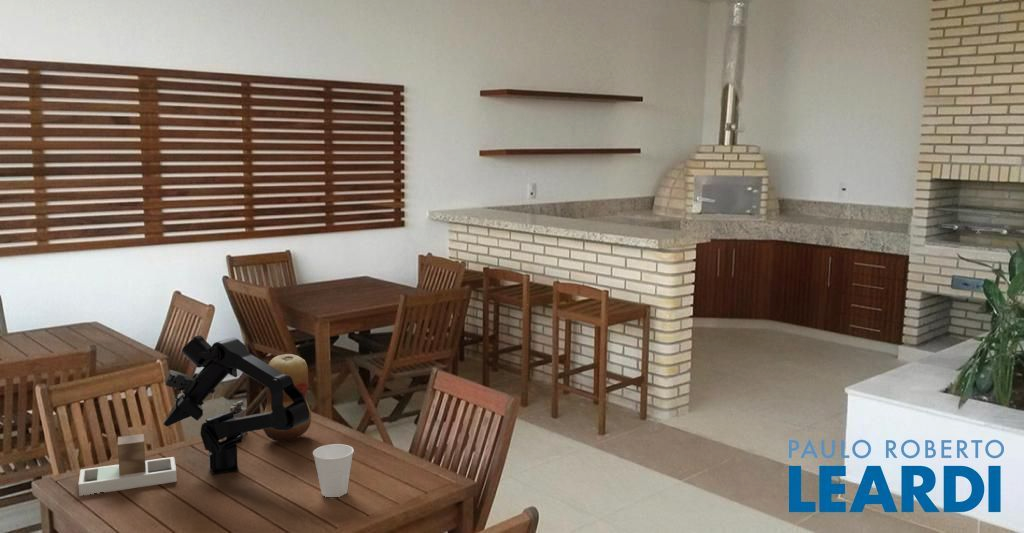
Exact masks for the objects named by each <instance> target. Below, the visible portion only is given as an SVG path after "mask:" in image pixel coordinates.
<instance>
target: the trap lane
mask: <svg viewBox="0 0 1024 533" xmlns="http://www.w3.org/2000/svg"><path fill="white" fill-rule="evenodd" d="M145 465H146V472H141V473H134V474H127V475H120V474H119V463H118V464H112V465H104V466H97V467H90V468H83V469H80V471H79V479H78V483H77V484H78V495H79V496H78V497H83V495H84V496H90V494H91V495H95V494H94V493H97V494H101V493H100V492H104V493H110V492H118V491H123V490H130V489H134V488H135V489H136V488H142V487H150V486H157V485H162V484H163V485H164V484H169V483H177V480H178V479H177V467H176V459H175V456H171V457H163V458H155V459H148V460H145Z"/></svg>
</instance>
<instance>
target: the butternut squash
mask: <svg viewBox="0 0 1024 533" xmlns="http://www.w3.org/2000/svg"><path fill="white" fill-rule="evenodd" d="M267 364H268V365H270V366H271V367H273V368H275V369H276V370H278V371H280V372H281V373H283V374H286V375H289V376H290V377H291V378H292V380H293V383H294V386H295V387H296V388H297V389H298V390H299V391H300V392H301V393H302V394H303V396H304V398H305V401H306V404H307V406H308V409H309V419H308V421H307V422H305V423H303V424H300V425H298V426H296V427H294V428H292V429H290V430H287V431H284V430H275V429H274V428H266V429H262V430H263V431H264V433H265V435H266V436H267V437H268V438H269V439H271V440H272V441H278V442H293V441H295V440H297V439H298V438H299V437H301V436H302V435H304V434H305V433H306V432H307V431H308V430H309V429H310V426H311V422H312V413H311V408H310V406H309V405H310V404H309V402H308V400H307V393H308V390H309V368H308V364H307V362H306V360H305V359H304V358H303V357H300V356H299V355H296V354H294V353H293V354H291V353H286V354H279V355H277V356H274V357H273V358H272V359H271V360H270V361H269V363H267ZM265 391H266V398H267V400H266V406H265V409H264V412H263V413H265V412H270V411H272V409H271V398H272V395H271V392H270V389H269V388H268V387H266V386H265ZM292 403H293V401H292V399H291V398H290V397H289V396H288V395H287V394H286V393H285V392H284V391H283V406H284V407H285V406H287V405H289V404H292Z"/></svg>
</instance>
